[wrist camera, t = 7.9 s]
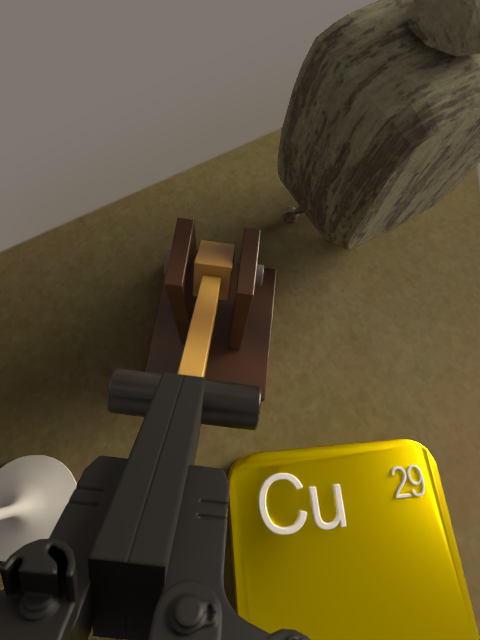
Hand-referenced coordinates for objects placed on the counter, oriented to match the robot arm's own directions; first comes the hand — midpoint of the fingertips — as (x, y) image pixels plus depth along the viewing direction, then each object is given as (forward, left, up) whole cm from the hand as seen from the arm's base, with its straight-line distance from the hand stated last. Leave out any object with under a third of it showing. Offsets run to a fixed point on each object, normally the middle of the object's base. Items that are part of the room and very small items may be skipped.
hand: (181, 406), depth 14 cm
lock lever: (-1, +4, -5) cm, 7 cm away
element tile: (+13, -4, -18) cm, 22 cm away
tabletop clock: (+6, +25, -18) cm, 31 cm away
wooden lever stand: (-2, +9, -18) cm, 20 cm away
